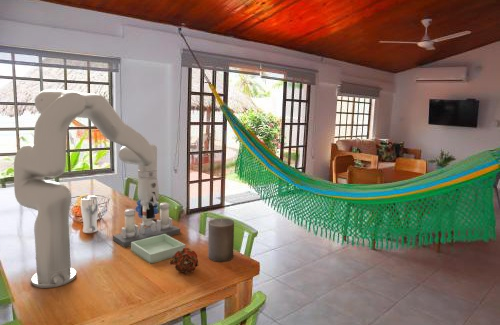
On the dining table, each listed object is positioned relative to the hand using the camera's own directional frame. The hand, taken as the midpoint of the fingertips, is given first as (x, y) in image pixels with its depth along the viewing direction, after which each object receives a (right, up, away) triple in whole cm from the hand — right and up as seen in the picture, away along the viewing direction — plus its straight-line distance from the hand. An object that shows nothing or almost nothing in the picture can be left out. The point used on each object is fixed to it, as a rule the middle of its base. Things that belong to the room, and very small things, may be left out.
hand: (147, 216), depth 153 cm
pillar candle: (+32, -13, -15) cm, 38 cm away
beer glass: (-26, -7, +5) cm, 28 cm away
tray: (+8, -12, -14) cm, 20 cm away
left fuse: (-6, -8, -4) cm, 10 cm away
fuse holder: (0, -9, +2) cm, 9 cm away
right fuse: (+6, -6, +7) cm, 11 cm away
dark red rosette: (+21, -15, -28) cm, 38 cm away
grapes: (-6, -6, +21) cm, 23 cm away
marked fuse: (0, -4, +1) cm, 4 cm away
